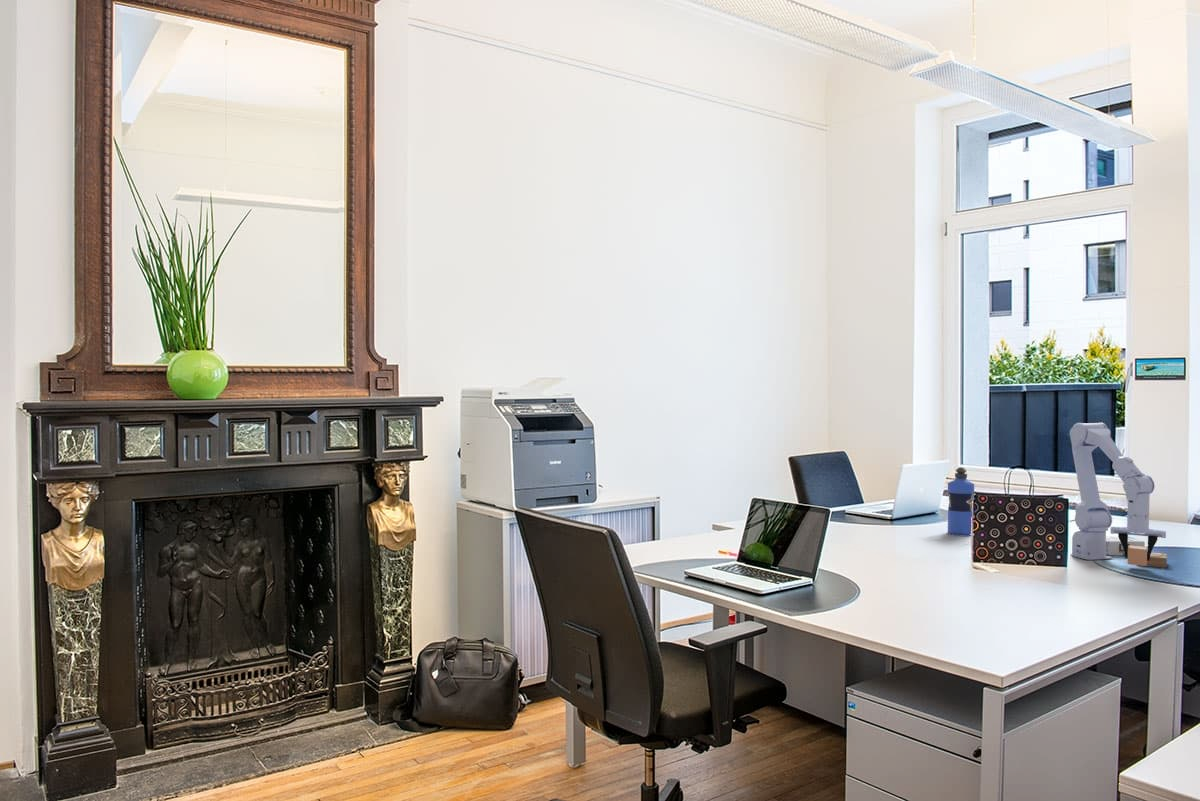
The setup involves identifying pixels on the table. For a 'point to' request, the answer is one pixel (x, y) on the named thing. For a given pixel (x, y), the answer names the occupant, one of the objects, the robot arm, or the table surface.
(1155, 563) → the walnut slab
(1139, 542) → the ink box
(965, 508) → the water bottle
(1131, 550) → the terracotta cube
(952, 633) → the table surface
